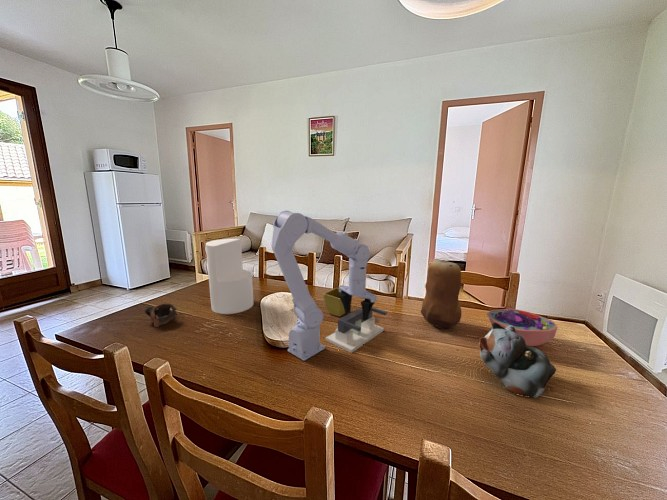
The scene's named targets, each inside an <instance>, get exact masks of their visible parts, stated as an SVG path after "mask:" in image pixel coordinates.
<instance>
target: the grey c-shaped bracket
mask: <svg viewBox="0 0 667 500" xmlns="http://www.w3.org/2000/svg"><path fill="white" fill-rule="evenodd" d="M373 312H375V313H377V314H380V315H383V316H386V315H387V311H385V310H383V309H379V308H376V307H374V306H372V308H371V310H370V313H369V316H368V319H369V318H371V317H373ZM362 313H363V312H362V307H360V308H358V309H356V310H354V311H351V312H349V313H347V314H346V315H344V316H341V317H340V318H338V319H337V328H338V331H339V332H341V333H345V332H347V331H349V330H351V329H354V330H357V331H360V330H361V327H359V326H357V325H355V321H357V320H359V319H361V323H363V322H364V320H363V318H362ZM368 319H367V320H368ZM365 321H366V320H365Z"/></svg>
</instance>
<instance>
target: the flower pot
mask: <svg viewBox="0 0 667 500" xmlns="http://www.w3.org/2000/svg"><path fill="white" fill-rule="evenodd" d="M339 294H341V292H339V287H335V288H333V289H331V290H329V291H326V292H324V293H323V299H324V306H325V308H326V310H327V312H328V314H330V315H333V316H335V317H340V318H341V317H343V315H344V314H346V313H345V310H344V306H343V303H342V301H341V299H340V298H339ZM352 299H353V298H352ZM352 299H351V302H352Z"/></svg>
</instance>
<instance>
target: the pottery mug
mask: <svg viewBox="0 0 667 500" xmlns="http://www.w3.org/2000/svg"><path fill="white" fill-rule="evenodd" d="M144 313H145V314H146V315H147V316H148V317H150V319H151V320H152V321H153V326H154V327H155V328H159V327H160V326H161V325H164V324H167V323H169V322H171V321H172V320H173V319H174V318H175V317H177V316H178V313H177V308H176V307H175V306H174V305H173V304H172V303H168V302H162V303H159V304H157V305H155V306H146V308H145V309H144Z"/></svg>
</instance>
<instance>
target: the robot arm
mask: <svg viewBox="0 0 667 500" xmlns="http://www.w3.org/2000/svg"><path fill="white" fill-rule="evenodd" d="M272 226H273V227H272V229H273V231H272V236H271V237H272V238H271V250H272V252H273V254H274V257H275V259H276V261H277V264H278V266H279V268H280V271H281V273H282V276H283V278H284V281H285V282H286V285H287V287H288V290H289V291H290V294H291V296H292V298H293V299H292V304H293V313H294V314H295V315H296V316H297V317H296V324H295V325H294V327H293V328H292V329H290V330H289V333H288V348H287V352H288V353H291V355H294V356H296V357H297V358H299V359H300V360H302V361H304V362H305V361H307V360H308V359H310V358H311V357H312V358H313V356H315V355H317V354H319V353H320V352H321V351H323V350H325V349H326V346H325V345H324V344H323V343H322V344H321V341H320V340H321V339H320V338H321V336H320V335H321V333H320V331H321V330H320V328H321V327H320V326H321V324H322V322H323V320H324V313H323V310H321V309H320V308H319V307H318V305H317V304H316V302H315V300H314V299H313V297H312V296H311V294H310V292H309V289H308V287H307V286H308V285H307V284H306V282H305V279H304V277H303V273H302V272H301V269H300V266H299V264H298V262H297V258H296V257H295V254H294V252H293V247H294V245H295V244H296V242H297V241H298V240H299V239H300V238H301V237H303V235H304V234H307V235H309V234H311V233H312V234H313V235H316V236H317V237H320V238H322V239H324V240H326V241H328V242H329V244H330V247H331V248H332V249H334V250H335V251H338V252H339V253H341V254H343V255H345V256H346V257H347V258H349V259H348V285H345V284H342V285H339V286H338V288H339V292H341V294H339V298H340V299H341V301H342V303H343V306H344V310H345V314H346V315H348V314H350V313H351V310H352V309H351V308H352V301H351V299H353V297H358V298H361V299H364V300H362V301H360V305H361V308H362V312H363V313H362V318H363V320H364V321H365V320H367V319H368V316H369V313H370V310H371V308H372V307H374V305H375V303H376V302H377V294H374V293H372V292H370V291H368V290H366V287H367V286H366V285H367V265H368V261H369V259H370V257H371V254H372V253H371V252H370V249H369V247H368V246H367V245H366V244H363V243H361V242H359V241H360V240H359V239H357V238H352V237H351V236H350V235H349V233H348V232H346V231H337V232H334V231H333V230H331V229H330V228H328V227H326V226H325V225H323V224H322V223H321V222H319V221H317V220H316V219H313V218H312V217H309V216H306V215H304V214H302V213H299V212H292V211H290V210H283V211H280V212H279V213H278V214H277V216H276V217H275V219H274V221H273V223H272Z"/></svg>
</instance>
